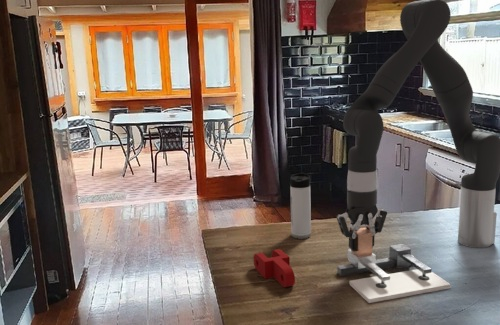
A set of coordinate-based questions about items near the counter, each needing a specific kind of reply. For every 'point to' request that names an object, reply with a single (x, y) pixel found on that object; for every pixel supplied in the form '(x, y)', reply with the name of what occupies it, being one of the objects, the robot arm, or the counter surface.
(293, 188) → the travel mug
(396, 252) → the gray bar frame
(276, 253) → the mechanical linkage
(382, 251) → the counter surface
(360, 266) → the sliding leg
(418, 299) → the counter surface
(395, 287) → the bolt plate
